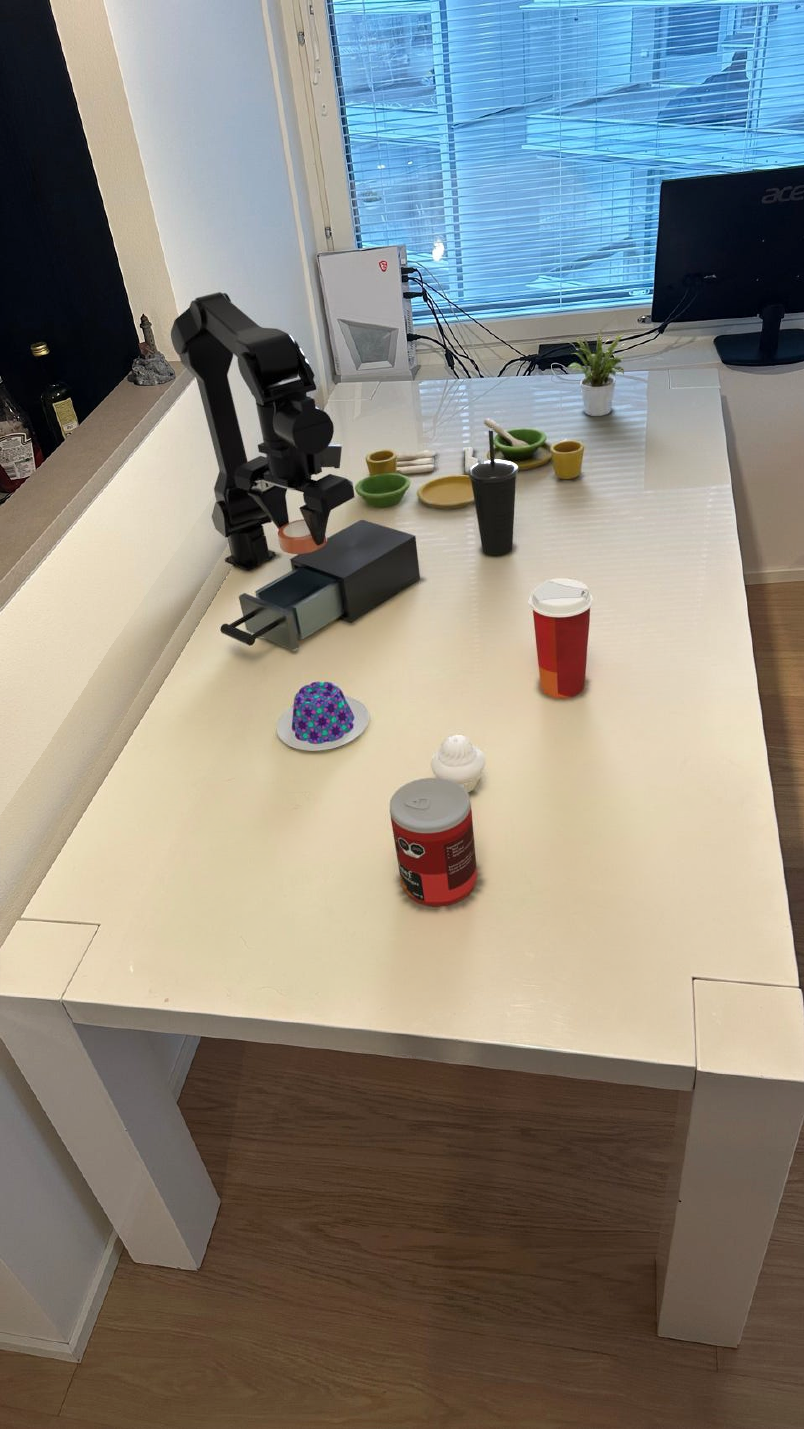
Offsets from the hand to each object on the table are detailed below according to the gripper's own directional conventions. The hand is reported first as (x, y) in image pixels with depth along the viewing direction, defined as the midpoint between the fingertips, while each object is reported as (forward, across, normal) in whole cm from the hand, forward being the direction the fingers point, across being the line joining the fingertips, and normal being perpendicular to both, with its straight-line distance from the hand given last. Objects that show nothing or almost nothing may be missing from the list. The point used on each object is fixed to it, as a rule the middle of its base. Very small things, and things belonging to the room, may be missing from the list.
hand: (302, 538), depth 145 cm
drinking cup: (+13, -10, -31) cm, 35 cm away
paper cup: (+13, -41, -5) cm, 43 cm away
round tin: (+1, 0, 0) cm, 1 cm away
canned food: (+13, -50, +32) cm, 61 cm away
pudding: (+13, -21, +19) cm, 31 cm away
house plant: (+13, +10, -89) cm, 91 cm away
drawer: (+12, 0, +5) cm, 13 cm away
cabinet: (+13, 0, -9) cm, 16 cm away
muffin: (+13, -43, +18) cm, 48 cm away
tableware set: (+13, +11, -52) cm, 54 cm away
